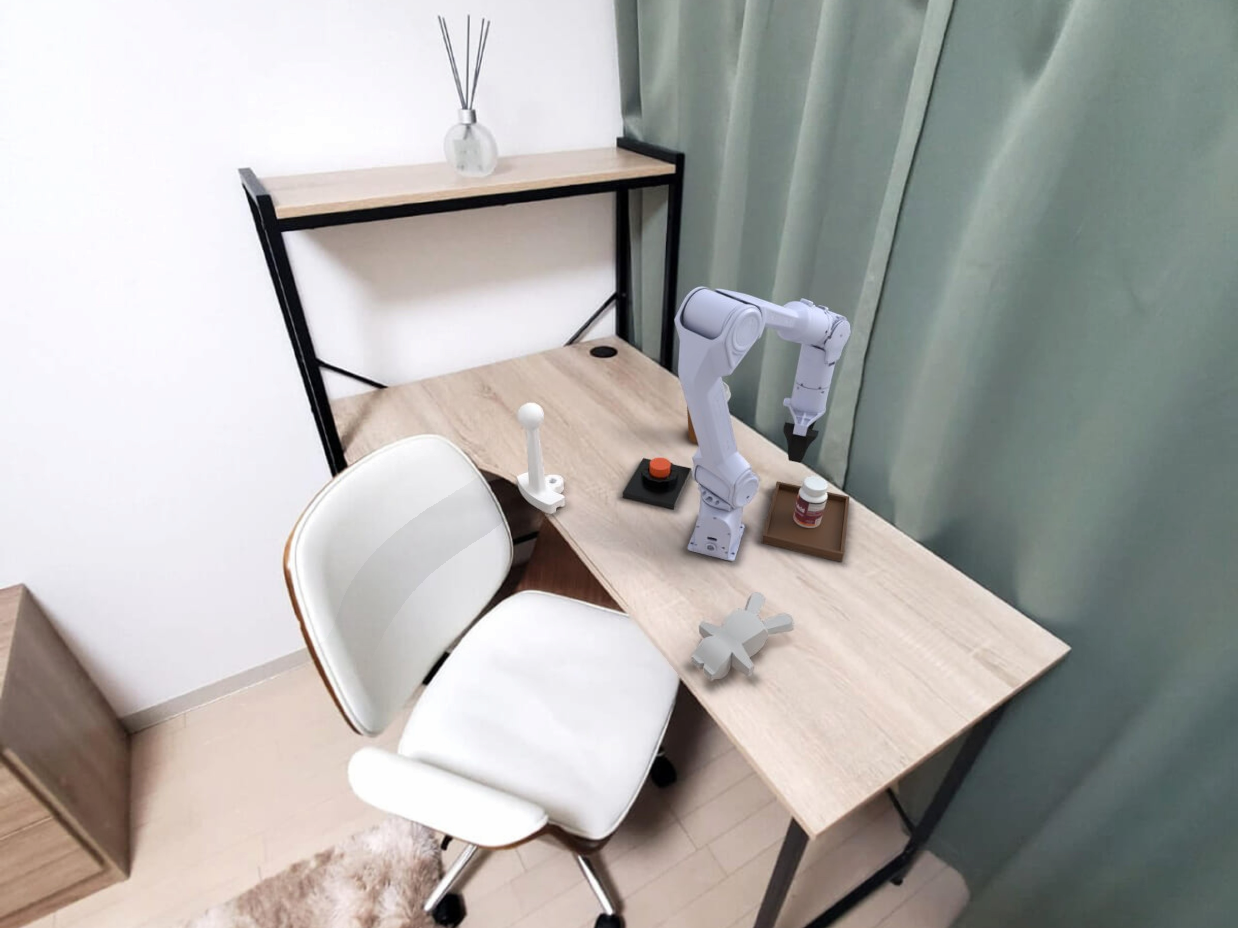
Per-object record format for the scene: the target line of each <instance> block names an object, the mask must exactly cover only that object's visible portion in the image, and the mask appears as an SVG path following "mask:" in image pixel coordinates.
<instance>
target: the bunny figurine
mask: <svg viewBox="0 0 1238 928" xmlns="http://www.w3.org/2000/svg"><path fill="white" fill-rule="evenodd" d="M765 603H766V597H765V595H764V594H763V593H762V592H759V591H753V592H752V593H751V595H750V596H749V597H748V598H747V601H746V604H745V607H744V609H742V608H741V607H737V608H736V609H734V610H733V611H732V612H731V613H730V614H729V615H728V616H727V617H726V618H725V619H724V621H723V622H722V625H721V626H720V625H716V624H713V623H710V622H708V621H705V620H702V621H701V622H700V623H698V633H699V635H700V636H701V637H702V638H703V639H702V640H701V641H700V643H699V644H698V646H697V647H696V649H695V651H694V652H693V654H692V655H691V656H690V657H691V658H690V659H691V660H690V661H691V663H692V664H693V665H694V666H695V667H696V668H697V669H698V670H699V671H701V670H702V673H703V675H704V676H705V677H707V678H708V679H709V680H710V681H711V682H714V680H721V679H723V678H725V677H727V675H728V674H729V672H730V671H731V668H734V669H735V670H736V671H738V672H740V673H741V674H742V675H745V676H746V677H748V678H750V677H752V676H753V675H754V672H755V670H754V669H755V665H754V663H753V661H752V659H751V657H753V656H754V655H756V654H758V652H759V651H760V650H761V649H762V648H763V647H764V645H765V643H766V642H767V640H768V638H769V636H770V635H771V636H772V635H777V634H783V633H791V632H792V631H794V630H795V627H796V625H795V622H794V618H793V617H792V615H791V614H788V613H779V614H777V615H774V616H771V617H769V618H767V619H764V620H762V619H761V618H760V617H759V613H760V611H761V610H762V608H763V606H764V605H765Z"/></svg>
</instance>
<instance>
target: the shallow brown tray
mask: <svg viewBox="0 0 1238 928" xmlns="http://www.w3.org/2000/svg"><path fill="white" fill-rule="evenodd" d="M801 487H802V486H801V485H797V484H793V483H787V482H782V481H776V483H775V487H774V491H773V494H772V498H771V502H770V506H769V510H768V513H767V517H766V521H765V524H764V528H763V532H762V537H761V542H760V543H761V544H765V545H768V546H773V547H777V548H781V549H786V550H790V551H793V552H797V553H802V554H805V555H810V556H814V557H819V558H823V559H827V560H830V561H834V562H839V563H842V562H843V559H844V555H845V549H846V548H845V547H846V537H847V527H848V517H849V506H850V499H851V498H850V496H849V495H844V494H840V493H835V492H829V491H826V492H827V501H826V504H825V508H824V512H823V515H822V519H821V522H820V524H819V526H817V527H815V528H805V527H802V526H800V525H798V524H797V523H796V522H795V521H794V518H793V515H794V511H795V506H796V502H797V498H798V493H799V490H800V488H801Z"/></svg>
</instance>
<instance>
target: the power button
mask: <svg viewBox="0 0 1238 928" xmlns="http://www.w3.org/2000/svg"><path fill="white" fill-rule="evenodd" d="M650 460H651V461H650V468H649V472H650V474H651V475H652V476H654V477H659V478H661V477H667V476H668V475H669V474H670V469H671V463H672V462H671V461H670V459H668V458H666V457H654V458H652V459H650ZM670 462H671V463H670Z"/></svg>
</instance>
